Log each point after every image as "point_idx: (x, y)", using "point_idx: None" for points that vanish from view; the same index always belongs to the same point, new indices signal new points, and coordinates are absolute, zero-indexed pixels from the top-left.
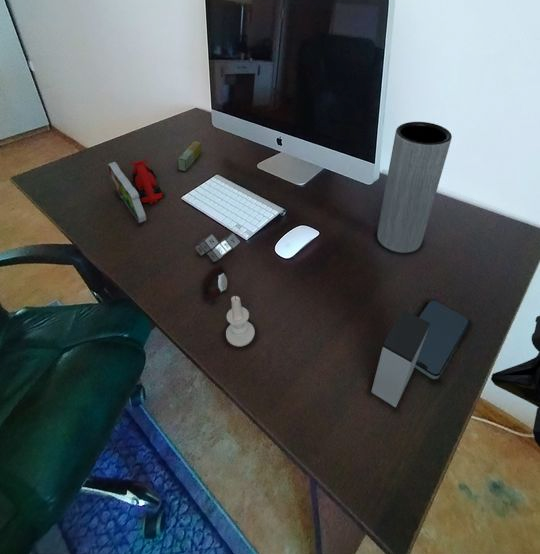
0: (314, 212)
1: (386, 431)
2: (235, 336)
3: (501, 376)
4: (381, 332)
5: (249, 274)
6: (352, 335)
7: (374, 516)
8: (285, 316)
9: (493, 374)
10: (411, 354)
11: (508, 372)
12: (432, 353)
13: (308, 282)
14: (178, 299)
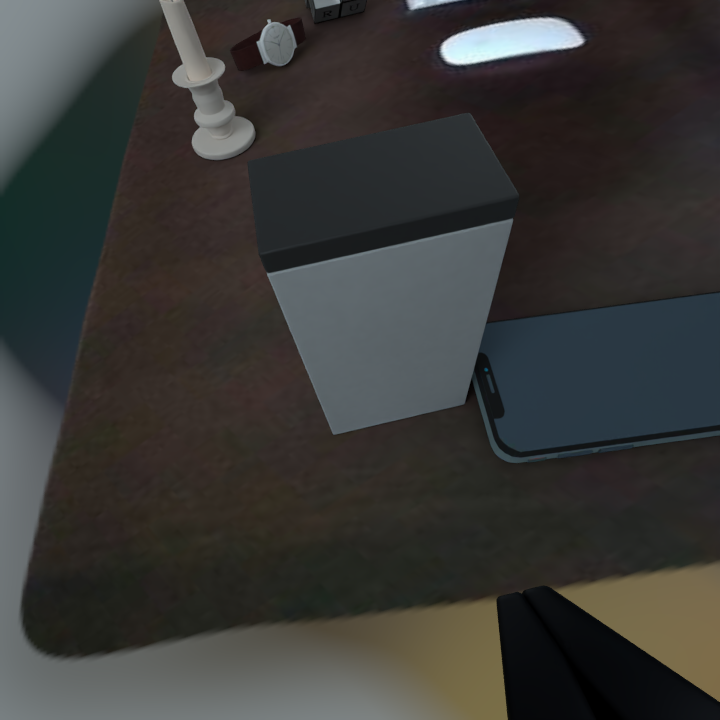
0: (619, 4)
1: (259, 457)
2: (208, 136)
3: (548, 658)
4: None
5: (348, 62)
6: None
7: (57, 561)
8: None
9: (540, 592)
10: (280, 237)
11: (629, 702)
12: (561, 399)
13: None
14: None
